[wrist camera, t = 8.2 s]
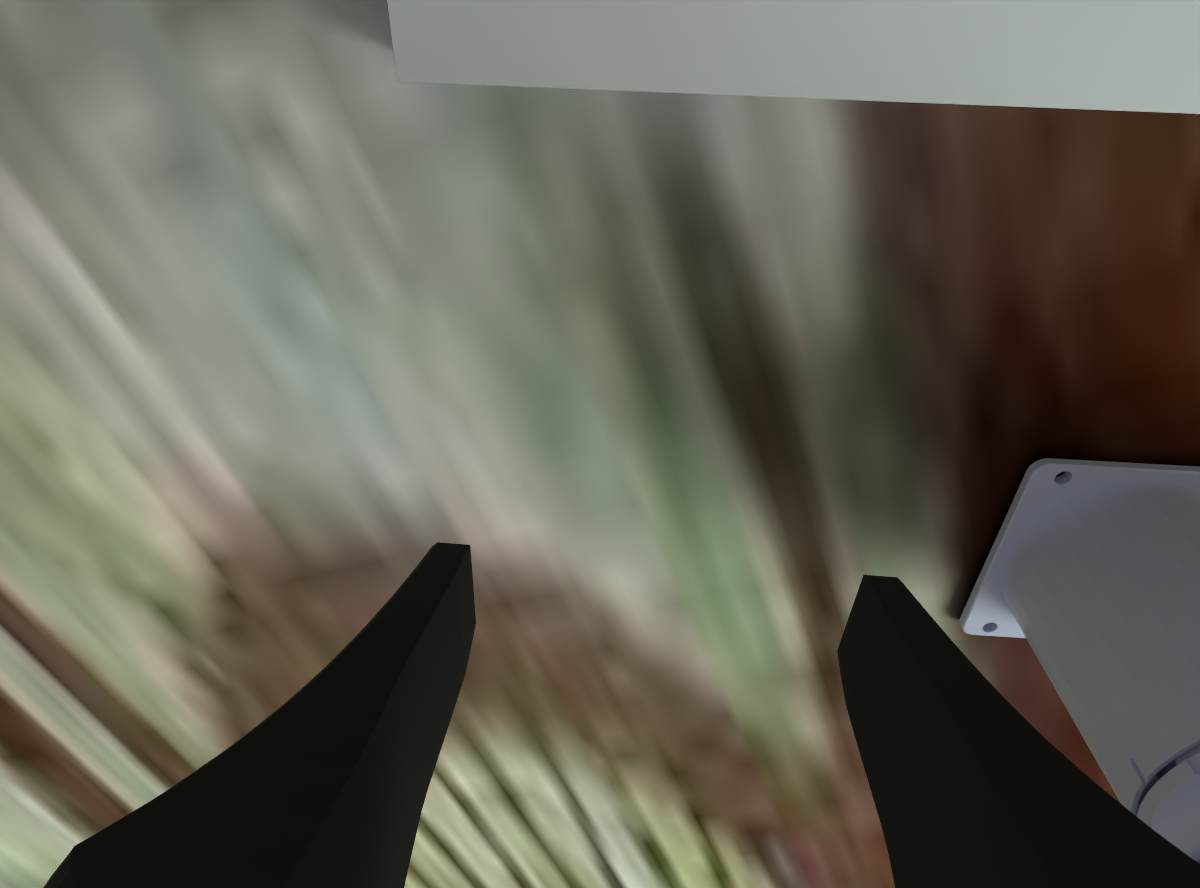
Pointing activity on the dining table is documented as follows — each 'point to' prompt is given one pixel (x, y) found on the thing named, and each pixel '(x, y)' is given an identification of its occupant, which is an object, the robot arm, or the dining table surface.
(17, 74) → the dining table surface
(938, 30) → the hole block
